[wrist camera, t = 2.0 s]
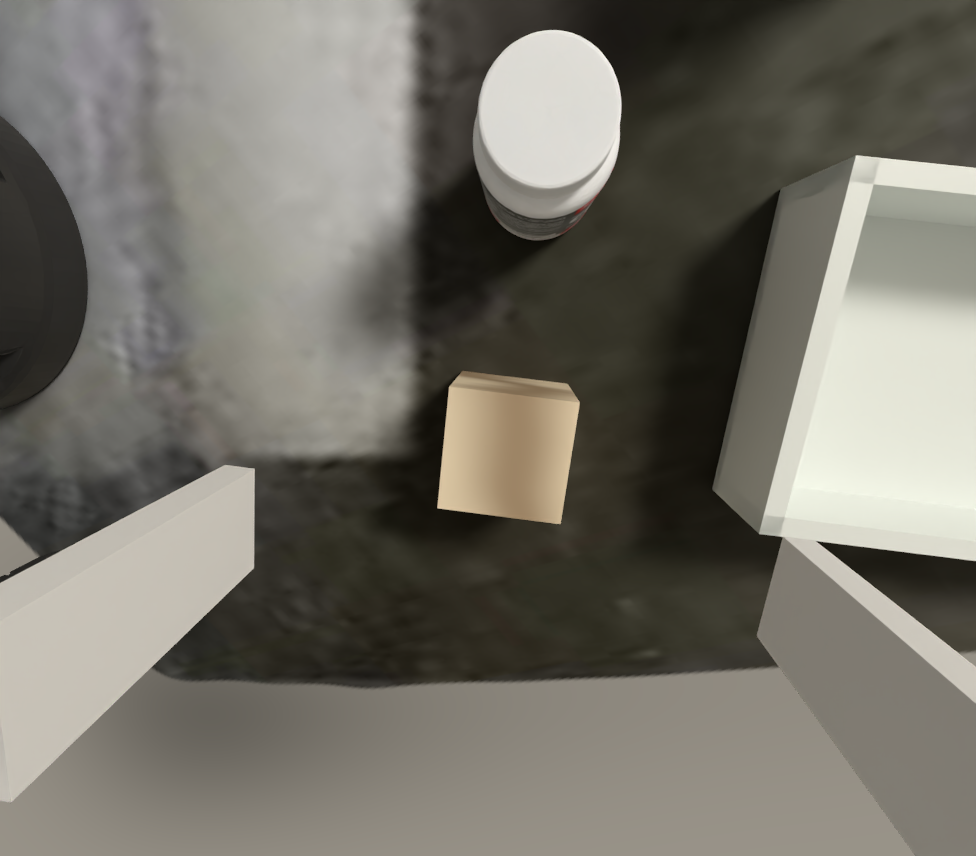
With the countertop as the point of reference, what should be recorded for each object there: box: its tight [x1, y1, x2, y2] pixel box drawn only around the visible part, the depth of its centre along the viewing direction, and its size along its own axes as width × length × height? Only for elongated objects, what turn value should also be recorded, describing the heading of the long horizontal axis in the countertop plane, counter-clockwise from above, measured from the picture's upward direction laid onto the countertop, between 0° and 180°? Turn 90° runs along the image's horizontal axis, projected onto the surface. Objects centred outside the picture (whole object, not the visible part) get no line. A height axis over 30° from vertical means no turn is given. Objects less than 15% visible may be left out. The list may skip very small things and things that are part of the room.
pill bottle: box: [473, 30, 621, 240], centre depth 18 cm, size 5×5×8 cm
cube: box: [437, 371, 580, 524], centre depth 23 cm, size 5×5×5 cm
